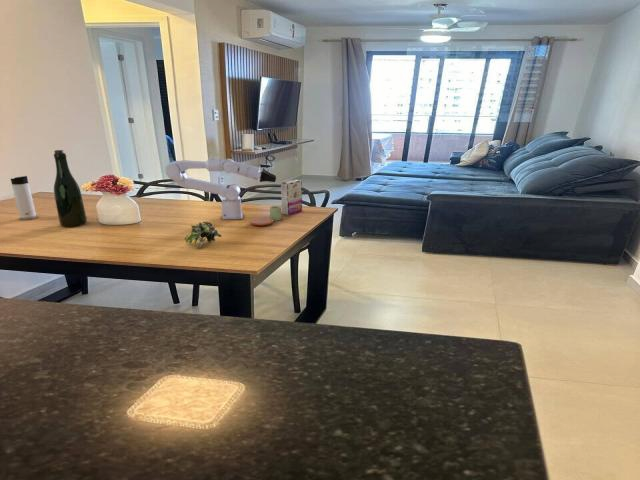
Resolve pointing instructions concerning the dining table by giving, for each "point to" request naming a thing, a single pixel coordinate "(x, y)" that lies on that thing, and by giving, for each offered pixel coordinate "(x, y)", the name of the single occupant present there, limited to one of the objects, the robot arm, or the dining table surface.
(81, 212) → the green wine bottle
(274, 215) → the jar
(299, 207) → the candy bar box
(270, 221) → the stand
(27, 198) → the travel mug
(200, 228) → the green leafy plant
